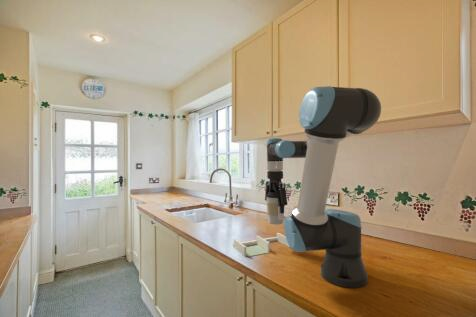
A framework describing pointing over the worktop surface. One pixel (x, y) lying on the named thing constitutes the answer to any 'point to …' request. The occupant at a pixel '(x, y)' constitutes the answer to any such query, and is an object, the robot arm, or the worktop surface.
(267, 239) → the e-shaped divided frame
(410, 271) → the worktop surface
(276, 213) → the coffee cup
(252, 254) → the pad
